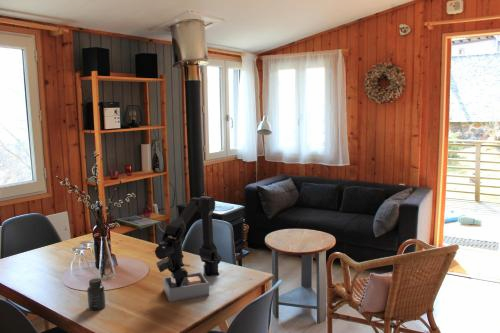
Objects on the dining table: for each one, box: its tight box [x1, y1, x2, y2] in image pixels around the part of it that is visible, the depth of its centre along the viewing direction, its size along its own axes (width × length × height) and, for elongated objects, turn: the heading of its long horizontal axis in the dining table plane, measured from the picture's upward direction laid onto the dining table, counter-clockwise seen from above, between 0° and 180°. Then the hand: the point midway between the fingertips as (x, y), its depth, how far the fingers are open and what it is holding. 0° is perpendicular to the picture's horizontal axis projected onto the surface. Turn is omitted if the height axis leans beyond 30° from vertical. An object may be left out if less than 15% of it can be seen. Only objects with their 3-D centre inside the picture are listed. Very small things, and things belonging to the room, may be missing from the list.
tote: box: [162, 271, 210, 303], centre depth 199 cm, size 18×14×6 cm
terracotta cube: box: [187, 276, 201, 285], centre depth 200 cm, size 5×5×5 cm
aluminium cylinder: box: [170, 273, 182, 288], centre depth 197 cm, size 5×5×7 cm
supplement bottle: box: [86, 277, 106, 312], centre depth 185 cm, size 7×7×12 cm
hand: (176, 285), depth 197 cm, fingers closed on aluminium cylinder, 5 cm apart
